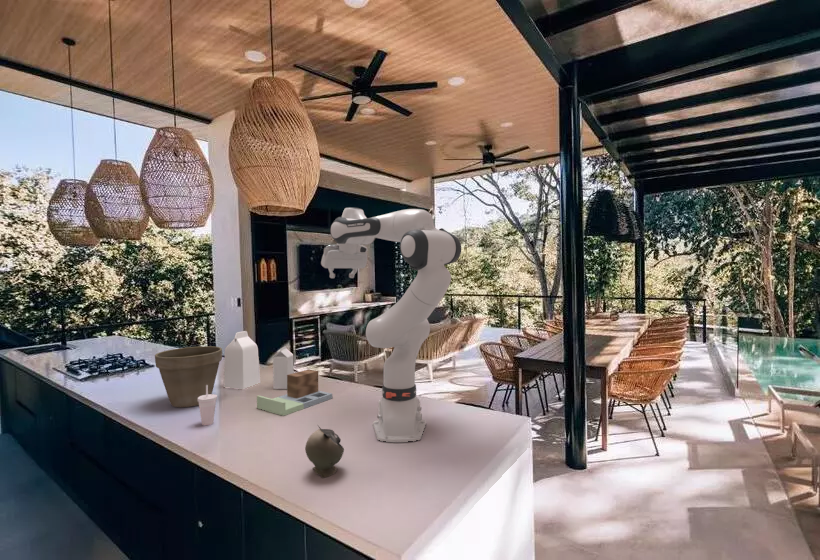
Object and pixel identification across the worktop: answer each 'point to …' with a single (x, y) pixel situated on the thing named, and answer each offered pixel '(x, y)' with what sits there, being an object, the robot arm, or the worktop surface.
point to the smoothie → (207, 407)
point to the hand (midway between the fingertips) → (341, 277)
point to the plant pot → (188, 373)
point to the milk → (241, 362)
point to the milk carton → (282, 368)
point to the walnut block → (302, 383)
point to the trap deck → (291, 402)
